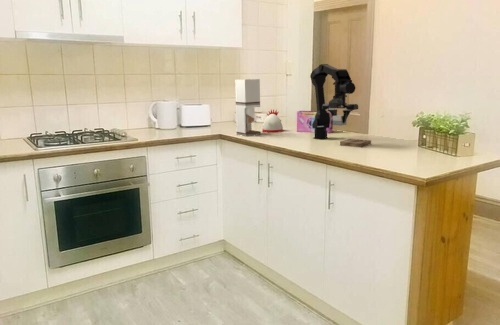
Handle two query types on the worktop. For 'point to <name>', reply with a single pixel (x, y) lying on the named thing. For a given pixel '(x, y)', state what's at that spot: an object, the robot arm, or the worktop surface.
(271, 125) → the white dome
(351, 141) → the walnut stand
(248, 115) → the coffee grinder
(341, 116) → the block
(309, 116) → the gum box
